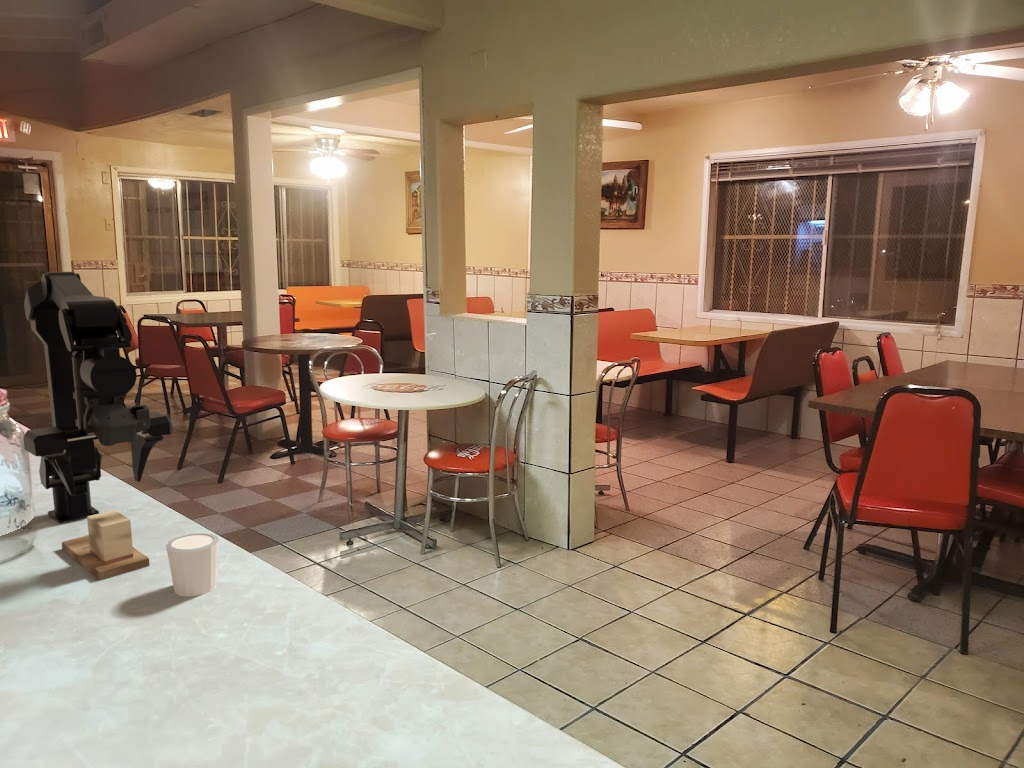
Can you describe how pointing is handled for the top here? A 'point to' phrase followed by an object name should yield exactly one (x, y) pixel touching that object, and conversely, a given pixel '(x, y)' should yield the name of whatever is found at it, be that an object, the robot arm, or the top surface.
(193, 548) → the white cup
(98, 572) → the board
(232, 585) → the top surface
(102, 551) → the block
